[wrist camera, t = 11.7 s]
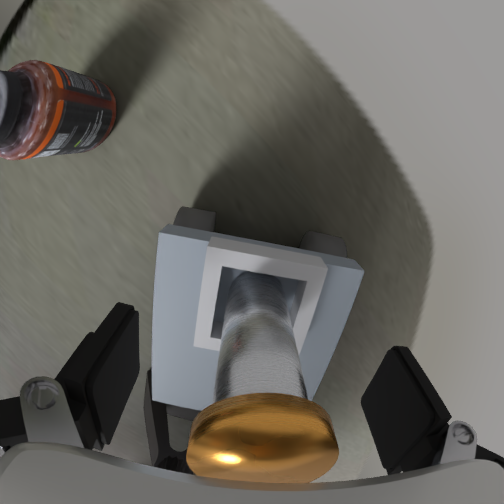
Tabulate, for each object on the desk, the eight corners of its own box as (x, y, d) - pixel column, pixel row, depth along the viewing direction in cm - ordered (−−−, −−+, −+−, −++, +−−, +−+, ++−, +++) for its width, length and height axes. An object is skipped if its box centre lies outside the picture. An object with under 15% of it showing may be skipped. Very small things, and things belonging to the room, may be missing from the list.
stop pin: (283, 332, 16) (309, 492, 7) (213, 321, 16) (183, 483, 7) (301, 268, 15) (364, 425, 6) (224, 254, 15) (190, 412, 5)
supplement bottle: (72, 77, 17) (-24, 50, 7) (130, 87, 18) (38, 47, 7) (51, 144, 19) (-52, 155, 8) (105, 161, 20) (2, 178, 9)
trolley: (333, 229, 22) (378, 274, 14) (285, 379, 26) (295, 451, 18) (187, 200, 21) (150, 231, 13) (170, 361, 26) (148, 431, 18)
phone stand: (236, 392, 27) (232, 497, 16) (222, 425, 29) (215, 517, 18) (148, 368, 26) (110, 467, 15) (144, 404, 28) (114, 492, 17)
